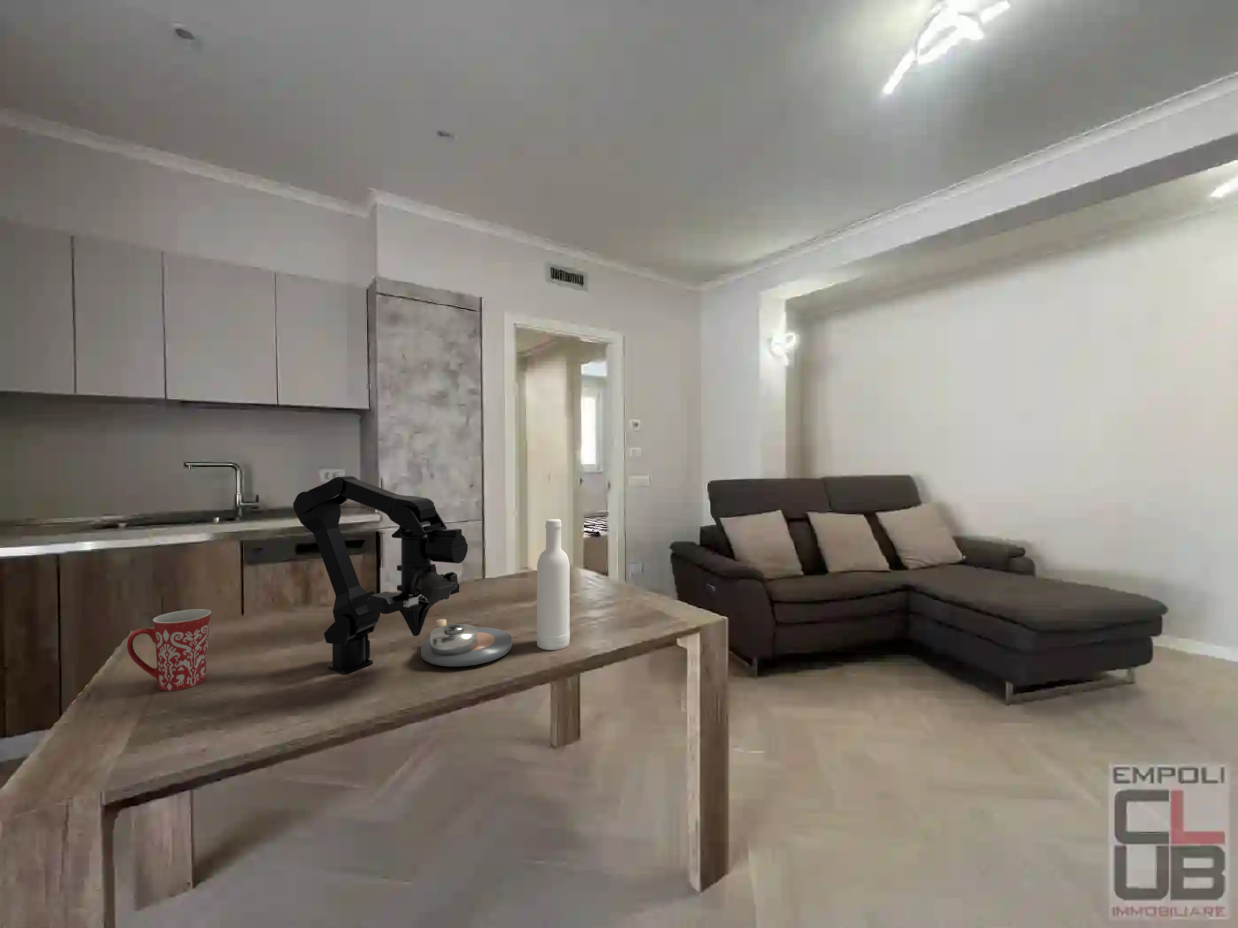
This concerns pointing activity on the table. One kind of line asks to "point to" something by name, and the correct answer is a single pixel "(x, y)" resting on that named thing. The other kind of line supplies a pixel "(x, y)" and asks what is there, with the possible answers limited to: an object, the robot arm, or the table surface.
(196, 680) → the mug
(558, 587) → the bottle
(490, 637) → the turntable
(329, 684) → the table surface
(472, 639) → the cover
